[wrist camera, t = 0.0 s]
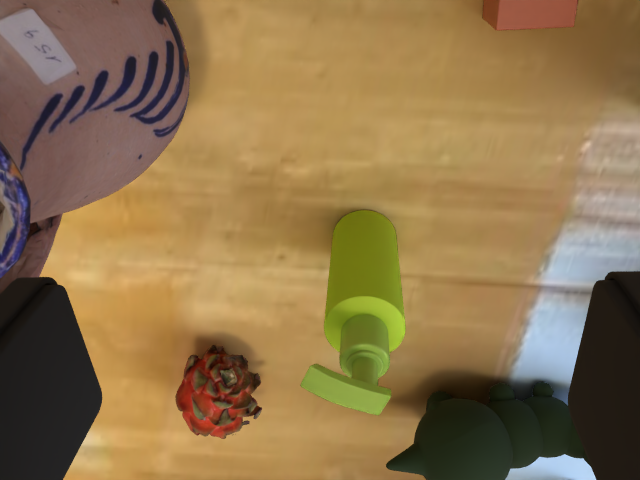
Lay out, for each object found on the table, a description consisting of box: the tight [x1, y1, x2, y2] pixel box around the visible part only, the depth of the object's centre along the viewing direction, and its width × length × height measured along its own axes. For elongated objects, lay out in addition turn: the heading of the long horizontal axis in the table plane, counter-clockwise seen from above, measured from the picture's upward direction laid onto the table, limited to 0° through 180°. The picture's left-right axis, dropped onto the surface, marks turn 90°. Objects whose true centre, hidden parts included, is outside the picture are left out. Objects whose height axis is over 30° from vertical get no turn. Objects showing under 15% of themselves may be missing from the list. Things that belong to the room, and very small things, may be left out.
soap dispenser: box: [301, 210, 405, 415], centre depth 43 cm, size 6×7×20 cm
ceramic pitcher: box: [0, 0, 190, 294], centre depth 34 cm, size 18×21×25 cm
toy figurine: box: [386, 382, 591, 480], centre depth 53 cm, size 9×19×25 cm
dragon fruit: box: [176, 345, 262, 439], centre depth 58 cm, size 8×8×12 cm
